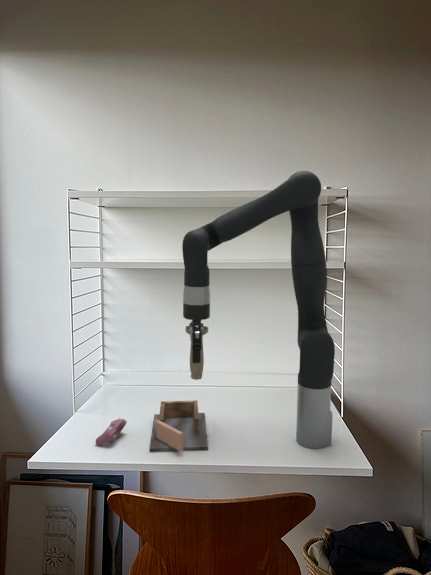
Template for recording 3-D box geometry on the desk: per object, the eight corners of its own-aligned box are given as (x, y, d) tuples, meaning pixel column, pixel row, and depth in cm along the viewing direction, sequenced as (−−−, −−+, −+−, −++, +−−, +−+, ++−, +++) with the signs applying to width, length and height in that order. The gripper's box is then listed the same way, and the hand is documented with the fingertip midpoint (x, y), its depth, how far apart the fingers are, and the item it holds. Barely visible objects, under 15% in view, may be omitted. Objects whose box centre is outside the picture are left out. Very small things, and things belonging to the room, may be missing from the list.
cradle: (204, 415, 154) (204, 398, 153) (208, 450, 132) (207, 429, 131) (154, 417, 153) (153, 399, 152) (149, 452, 131) (149, 431, 130)
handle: (186, 375, 140) (187, 325, 138) (208, 376, 140) (209, 325, 138) (184, 380, 136) (184, 329, 133) (206, 381, 135) (207, 329, 133)
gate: (183, 449, 129) (183, 432, 129) (179, 451, 128) (179, 434, 128) (157, 435, 138) (157, 418, 137) (153, 436, 137) (152, 420, 136)
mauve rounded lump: (106, 453, 134) (115, 433, 132) (93, 444, 134) (102, 424, 133) (122, 436, 143) (131, 418, 141) (110, 428, 144) (118, 410, 142)
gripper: (211, 306, 127) (210, 368, 130) (208, 296, 141) (207, 352, 144) (183, 306, 127) (183, 368, 130) (182, 296, 141) (182, 352, 144)
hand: (196, 359), depth 137 cm, fingers closed on handle, 4 cm apart
